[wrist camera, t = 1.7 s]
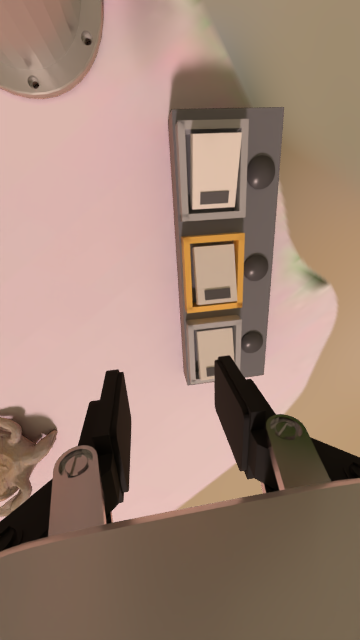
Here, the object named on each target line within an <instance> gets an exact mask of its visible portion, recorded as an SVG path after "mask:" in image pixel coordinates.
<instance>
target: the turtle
mask: <svg viewBox="0 0 360 640" xmlns="http://www.w3.org/2000/svg"><path fill="white" fill-rule="evenodd" d="M0 426H1V427H0V502H1V501H4V500H6V499H8V498H9V497H10V496H12V495H13V494H14V493H15V492H16V491H17V490H18V489H20V490H19V492H18V494H17V495H15V496H14V497H13V498H11V499H10V500H9V501H8V502H6V503H5V504H4V505H3V506H1V507H0V517H2V516H8V515H9V514H10V513H11V512H13V511H14V510H15V509H16V508H17V507H19V506H20V505H21V504H22V503H24V502H25V501H26V500H27V499H28V498H29V497H30V495H31V492H32V486H31V483H30V481H29V477H30V475H31V473H32V471H33V469H34V468H35V466H36V465H37V463H38V462H40V461H41V460H42V459H43V458H44V457H45V456H46V455H47V454H48V453H49V450H50V449H51V448H52V446H53V444H54V442H55V440H56V435H57V430H54V431H52V432H51V433H49V434H48V435H47V436H45V437H44V438H42V439H41V440H40V441H39V442H38V443H37V444H36V443H34V442H32V441H30V440H29V439H27V438H25V437H24V436H22V435H21V434H22V429H21V426H20V425H19V424H18V423H16V422H15V421H13V420H10V419H7V418H1V417H0ZM3 430H5V431H3Z"/></svg>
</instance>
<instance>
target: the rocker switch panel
mask: <svg viewBox="0 0 360 640" xmlns="http://www.w3.org/2000/svg"><path fill="white" fill-rule="evenodd" d="M283 117H284V107H272V108H271V107H269V108H213V109H172V110H171V113H170V116H169V120H168V129H169V145H170V161H171V177H172V193H173V209H174V225H175V240H176V256H177V272H178V288H179V304H180V320H181V336H182V352H183V368H184V375H185V378H186V382H187V385H195V384H202V383H209V382H215V379H209V380H202V381H201V380H200V378H199V368H198V356H197V344H196V332H195V330H203V329H212V328H220V327H229V326H230V327H232V331H233V347H234V362H235V364H236V365H237V367H238V368H239V370H240V371H241V373H242V374H243V376H244V378H245V377H252V376H259V375H264V364H265V351H266V338H267V325H268V312H269V299H270V286H271V273H272V260H273V247H274V234H275V221H276V208H277V195H278V182H279V169H280V168H279V167H280V156H281V143H282V130H283ZM237 132H242V137H241V148H240V158H239V168H238V178H237V189H236V199H235V207H226V208H210V209H194V210H192V208H191V207H190V134H202V133H237ZM228 244H234V252H235V269H236V286H237V301H233V302H223V303H214V304H204V305H197V302H196V290H195V278H194V266H193V254H192V248H193V247H202V246H215V245H228Z"/></svg>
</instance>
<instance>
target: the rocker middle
mask: <svg viewBox="0 0 360 640" xmlns="http://www.w3.org/2000/svg"><path fill="white" fill-rule="evenodd" d="M192 254H193V266H194V278H195V290H196V302H197V305H204V304H214V303H223V302H233V301H237V286H236V269H235V252H234V244H228V245H215V246H202V247H193V248H192Z"/></svg>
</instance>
